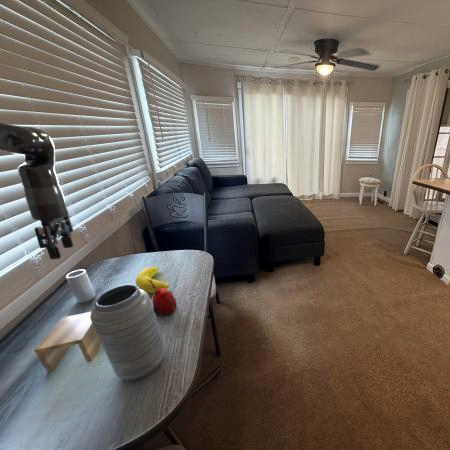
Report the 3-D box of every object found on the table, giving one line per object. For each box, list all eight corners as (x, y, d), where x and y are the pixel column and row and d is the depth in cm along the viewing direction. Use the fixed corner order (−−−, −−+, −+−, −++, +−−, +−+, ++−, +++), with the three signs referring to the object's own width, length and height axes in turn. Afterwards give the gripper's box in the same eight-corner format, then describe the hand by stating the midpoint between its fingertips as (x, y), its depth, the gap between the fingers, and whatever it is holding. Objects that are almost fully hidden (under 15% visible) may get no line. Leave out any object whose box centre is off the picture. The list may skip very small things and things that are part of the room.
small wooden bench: (47, 372, 63) (33, 350, 60) (71, 337, 74) (61, 317, 71) (92, 361, 66) (81, 339, 63) (109, 329, 76) (101, 309, 74)
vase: (115, 362, 65) (85, 293, 57) (162, 339, 72) (141, 275, 64) (119, 395, 57) (84, 320, 48) (172, 366, 64) (149, 296, 55)
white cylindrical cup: (74, 304, 89) (62, 279, 85) (81, 295, 93) (70, 271, 89) (91, 300, 90) (81, 275, 86) (98, 292, 95) (88, 268, 91)
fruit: (157, 263, 108) (169, 282, 94) (158, 272, 109) (169, 293, 95) (131, 267, 101) (139, 289, 87) (132, 277, 102) (140, 300, 88)
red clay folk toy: (181, 309, 84) (172, 273, 79) (161, 321, 79) (150, 284, 73) (170, 301, 88) (160, 266, 83) (150, 313, 83) (138, 276, 77)
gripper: (42, 197, 73) (58, 245, 78) (12, 208, 61) (33, 265, 66) (73, 195, 76) (86, 242, 81) (51, 206, 64) (68, 260, 69)
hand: (62, 252), depth 73 cm, fingers open, 8 cm apart
